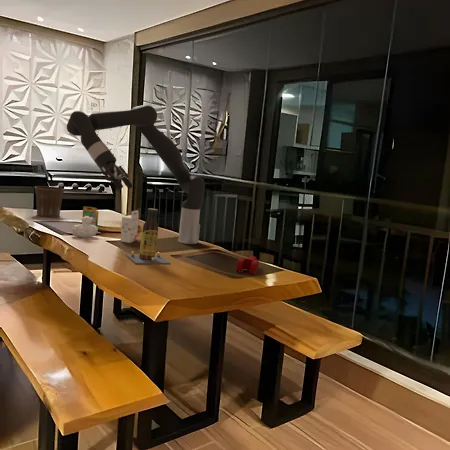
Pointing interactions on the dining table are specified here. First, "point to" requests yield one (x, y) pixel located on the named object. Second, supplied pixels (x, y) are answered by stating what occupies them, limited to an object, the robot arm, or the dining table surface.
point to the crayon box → (91, 215)
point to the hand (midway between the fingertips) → (126, 187)
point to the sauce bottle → (149, 235)
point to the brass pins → (152, 257)
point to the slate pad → (138, 260)
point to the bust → (84, 228)
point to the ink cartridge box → (129, 227)
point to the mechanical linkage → (248, 264)
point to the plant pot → (48, 200)
